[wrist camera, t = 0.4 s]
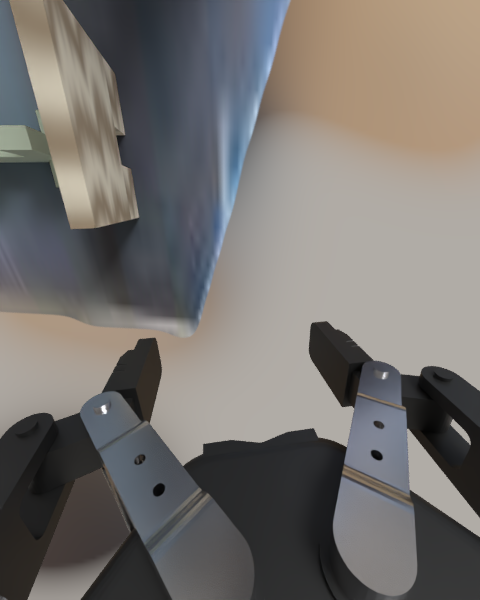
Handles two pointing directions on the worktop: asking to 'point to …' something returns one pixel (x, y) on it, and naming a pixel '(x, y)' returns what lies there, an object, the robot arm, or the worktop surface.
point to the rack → (25, 145)
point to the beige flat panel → (76, 113)
